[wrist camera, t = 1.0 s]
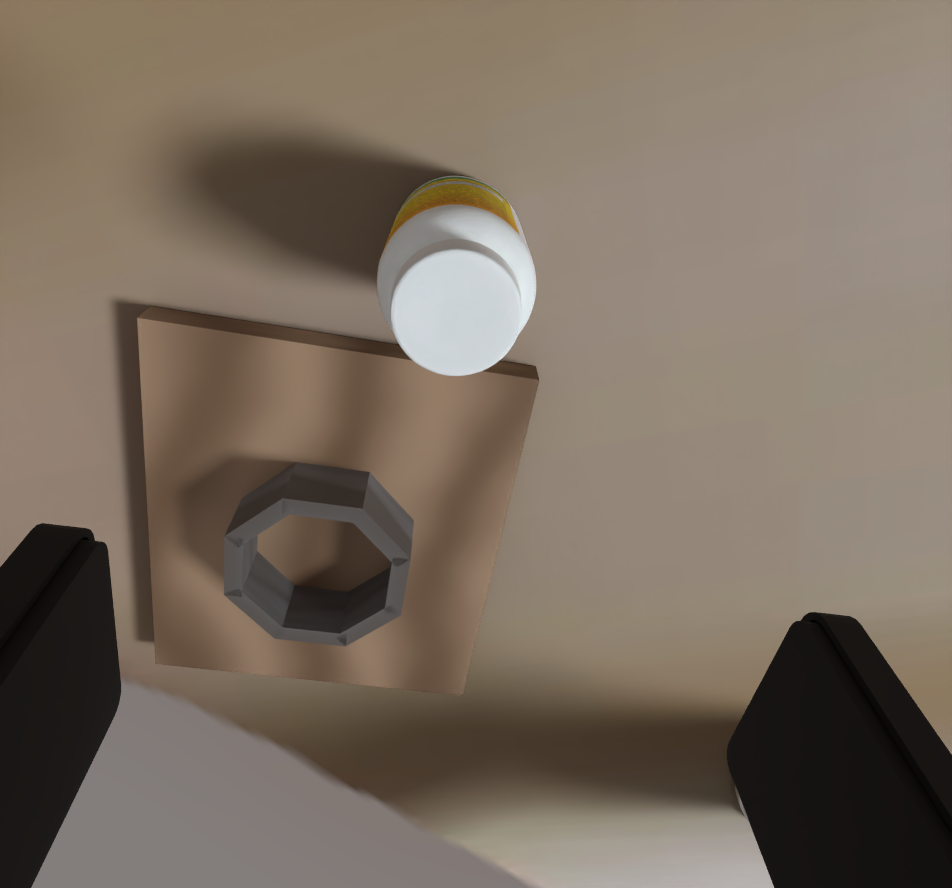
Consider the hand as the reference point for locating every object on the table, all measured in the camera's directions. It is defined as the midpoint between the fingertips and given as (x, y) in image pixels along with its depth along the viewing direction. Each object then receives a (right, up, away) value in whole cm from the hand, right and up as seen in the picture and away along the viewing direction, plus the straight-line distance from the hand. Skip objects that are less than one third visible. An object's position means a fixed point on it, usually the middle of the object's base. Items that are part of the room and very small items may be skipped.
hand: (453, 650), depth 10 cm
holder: (-7, -1, +27) cm, 28 cm away
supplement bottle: (-1, +11, +20) cm, 23 cm away
